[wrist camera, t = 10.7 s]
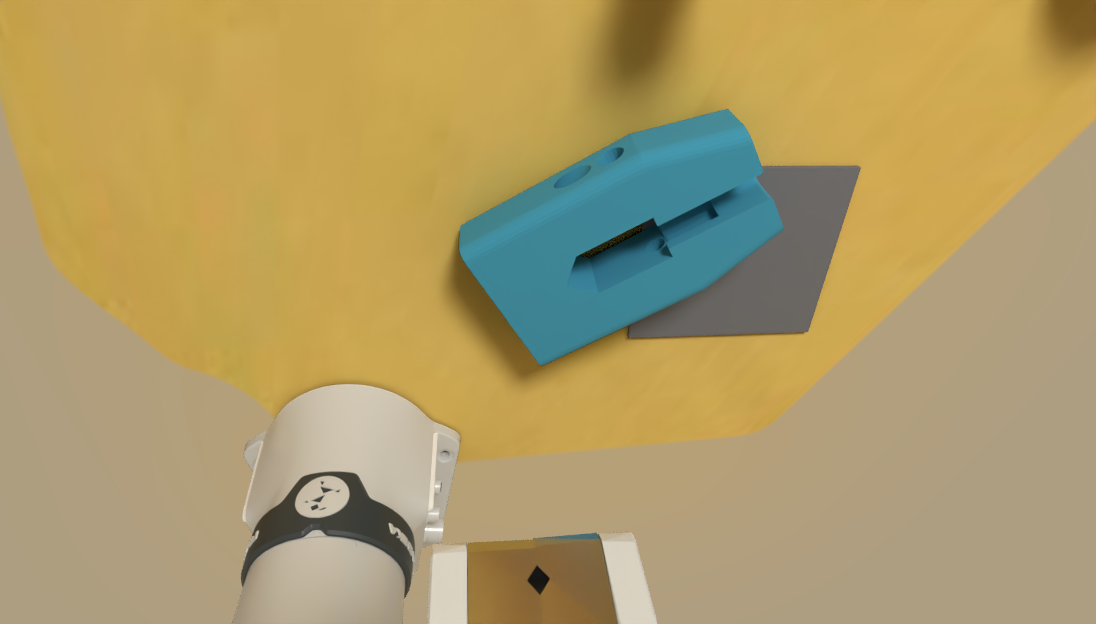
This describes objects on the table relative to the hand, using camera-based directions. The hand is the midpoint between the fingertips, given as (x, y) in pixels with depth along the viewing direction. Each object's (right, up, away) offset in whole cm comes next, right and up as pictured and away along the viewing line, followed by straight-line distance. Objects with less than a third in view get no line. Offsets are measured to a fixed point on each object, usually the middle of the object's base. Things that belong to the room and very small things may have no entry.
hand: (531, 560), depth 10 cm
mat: (+15, +8, +41) cm, 45 cm away
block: (+15, +14, +34) cm, 39 cm away
